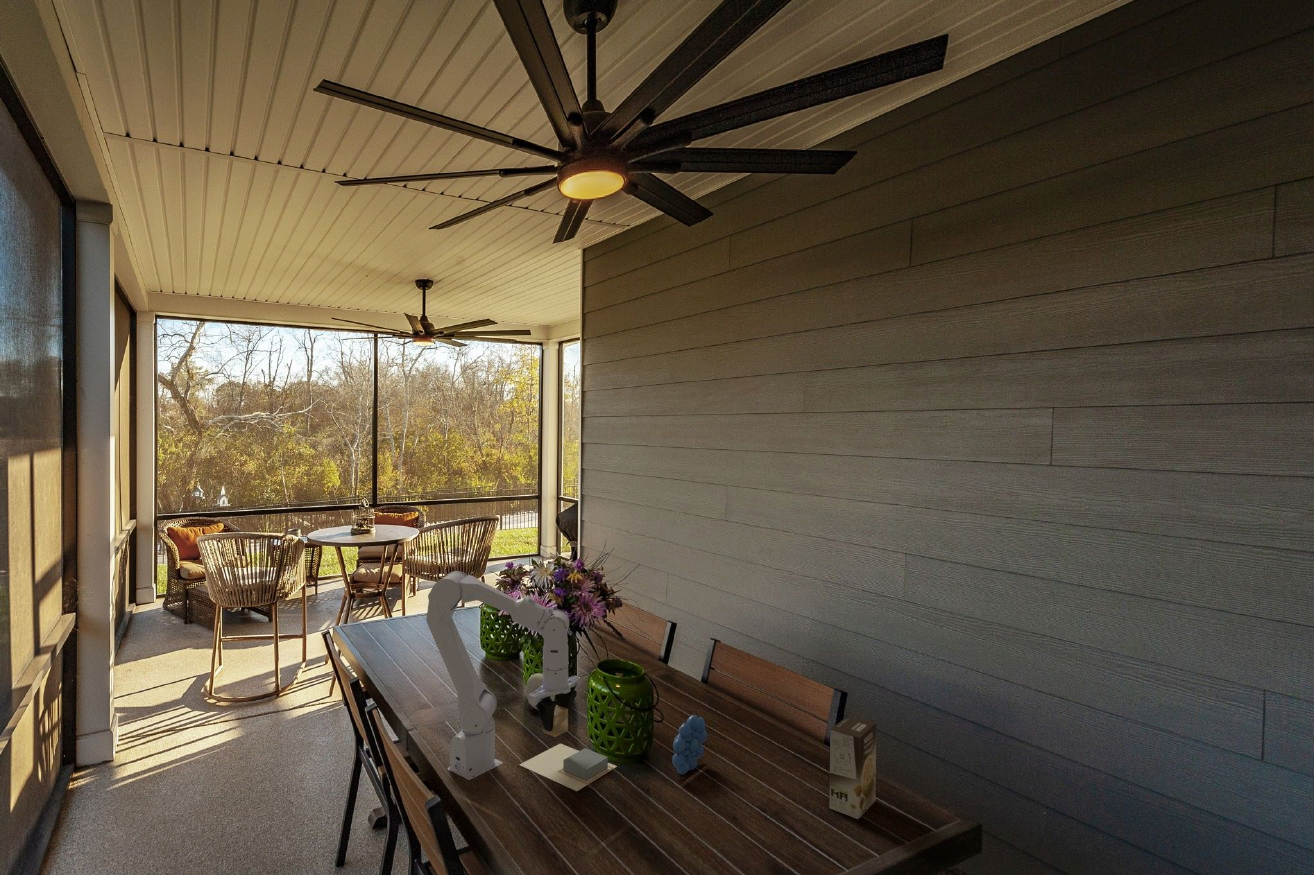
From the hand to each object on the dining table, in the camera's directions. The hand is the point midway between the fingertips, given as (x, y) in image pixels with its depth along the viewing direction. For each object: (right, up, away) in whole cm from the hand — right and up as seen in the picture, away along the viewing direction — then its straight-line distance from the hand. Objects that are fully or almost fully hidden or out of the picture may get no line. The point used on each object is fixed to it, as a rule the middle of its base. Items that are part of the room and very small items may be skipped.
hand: (555, 726), depth 144 cm
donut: (-9, -10, +30) cm, 33 cm away
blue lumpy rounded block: (+30, -10, -1) cm, 31 cm away
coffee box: (+63, -10, -15) cm, 66 cm away
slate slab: (+7, -8, -3) cm, 12 cm away
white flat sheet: (+3, -9, -1) cm, 10 cm away
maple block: (0, -1, 0) cm, 1 cm away
